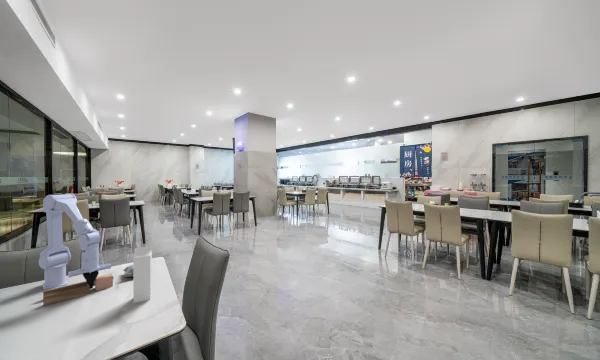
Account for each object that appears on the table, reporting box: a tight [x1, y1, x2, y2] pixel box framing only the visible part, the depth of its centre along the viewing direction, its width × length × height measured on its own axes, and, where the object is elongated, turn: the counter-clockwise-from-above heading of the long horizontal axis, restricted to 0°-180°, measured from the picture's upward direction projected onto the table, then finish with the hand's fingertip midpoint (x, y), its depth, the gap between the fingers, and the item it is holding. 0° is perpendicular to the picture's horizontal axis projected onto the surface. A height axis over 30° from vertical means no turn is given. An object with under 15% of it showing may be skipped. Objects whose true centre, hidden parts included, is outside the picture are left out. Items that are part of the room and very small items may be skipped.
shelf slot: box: [42, 280, 91, 307], centre depth 103 cm, size 8×14×4 cm, turn 137°
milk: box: [132, 246, 153, 304], centre depth 102 cm, size 6×6×22 cm
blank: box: [94, 273, 114, 291], centre depth 113 cm, size 4×6×5 cm, turn 137°
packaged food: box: [122, 264, 133, 278], centre depth 126 cm, size 9×12×5 cm
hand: (90, 288), depth 109 cm, fingers closed
